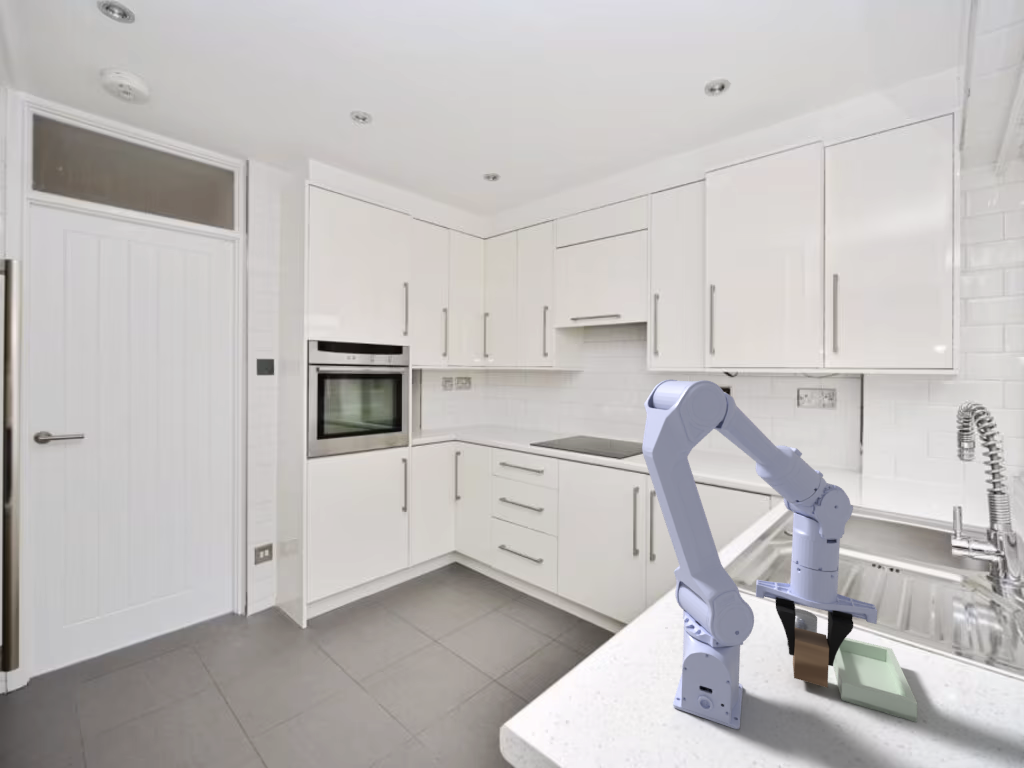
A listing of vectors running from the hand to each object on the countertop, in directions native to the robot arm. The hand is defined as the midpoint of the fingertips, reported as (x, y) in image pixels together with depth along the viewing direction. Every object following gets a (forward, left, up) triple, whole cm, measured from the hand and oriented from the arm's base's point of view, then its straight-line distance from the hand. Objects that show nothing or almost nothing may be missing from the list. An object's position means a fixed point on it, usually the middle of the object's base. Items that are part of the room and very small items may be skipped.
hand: (810, 656), depth 67 cm
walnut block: (0, 0, -3) cm, 3 cm away
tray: (+5, -8, -4) cm, 10 cm away
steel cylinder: (+10, 0, -4) cm, 11 cm away
